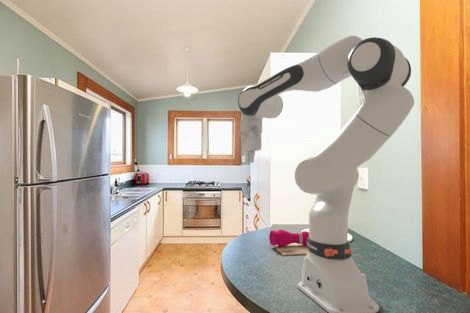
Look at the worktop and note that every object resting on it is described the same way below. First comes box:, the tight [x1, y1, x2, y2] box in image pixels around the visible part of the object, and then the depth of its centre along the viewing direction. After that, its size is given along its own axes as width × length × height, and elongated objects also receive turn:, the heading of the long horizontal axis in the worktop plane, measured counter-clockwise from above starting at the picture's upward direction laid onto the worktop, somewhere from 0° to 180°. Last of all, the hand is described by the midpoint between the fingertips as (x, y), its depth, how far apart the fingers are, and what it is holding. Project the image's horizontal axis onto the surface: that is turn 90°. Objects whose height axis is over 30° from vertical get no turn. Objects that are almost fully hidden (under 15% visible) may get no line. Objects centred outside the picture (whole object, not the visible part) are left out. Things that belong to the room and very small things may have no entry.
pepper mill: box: [268, 229, 309, 247], centre depth 113 cm, size 7×7×20 cm
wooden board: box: [273, 243, 308, 257], centre depth 111 cm, size 16×20×1 cm
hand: (250, 162), depth 103 cm, fingers closed
